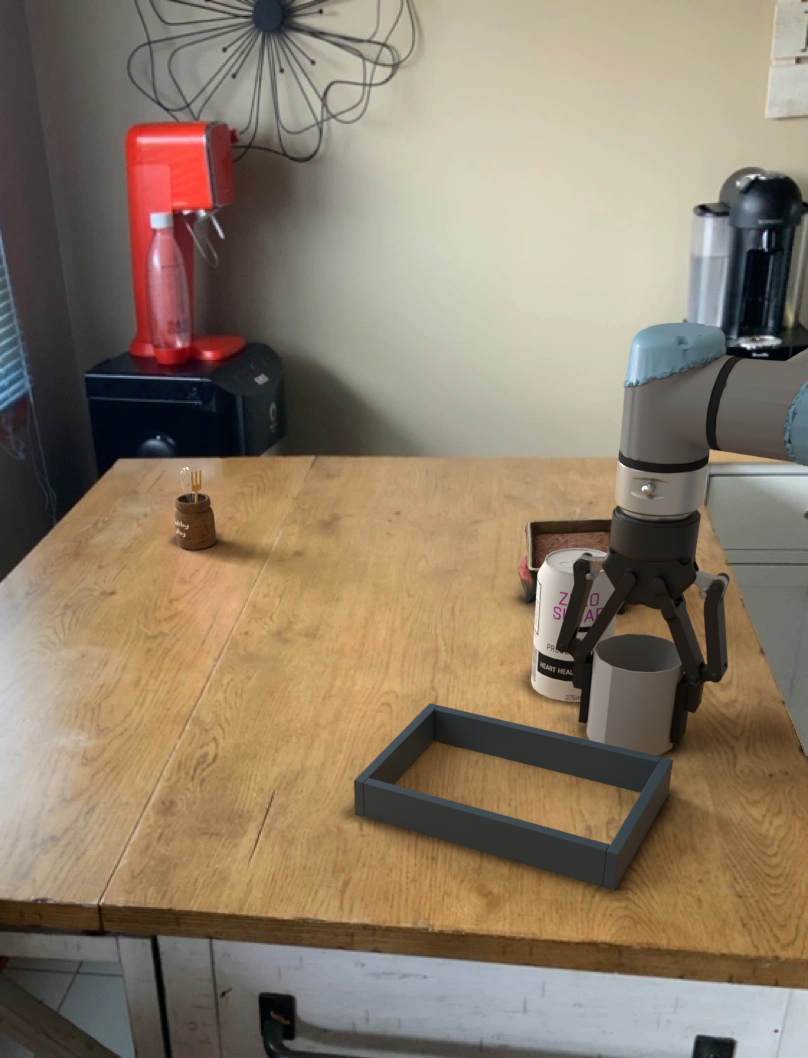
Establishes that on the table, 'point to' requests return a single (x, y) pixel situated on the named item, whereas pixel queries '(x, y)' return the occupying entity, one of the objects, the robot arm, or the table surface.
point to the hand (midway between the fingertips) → (631, 726)
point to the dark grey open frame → (504, 832)
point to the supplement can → (551, 605)
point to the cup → (634, 692)
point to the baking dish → (560, 545)
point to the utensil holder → (194, 518)
